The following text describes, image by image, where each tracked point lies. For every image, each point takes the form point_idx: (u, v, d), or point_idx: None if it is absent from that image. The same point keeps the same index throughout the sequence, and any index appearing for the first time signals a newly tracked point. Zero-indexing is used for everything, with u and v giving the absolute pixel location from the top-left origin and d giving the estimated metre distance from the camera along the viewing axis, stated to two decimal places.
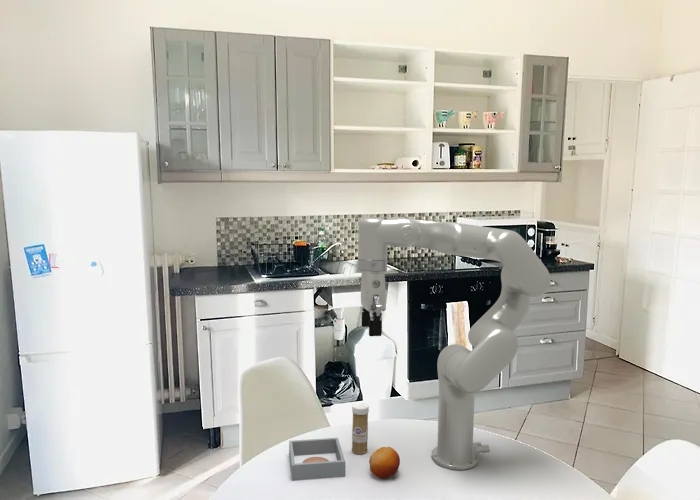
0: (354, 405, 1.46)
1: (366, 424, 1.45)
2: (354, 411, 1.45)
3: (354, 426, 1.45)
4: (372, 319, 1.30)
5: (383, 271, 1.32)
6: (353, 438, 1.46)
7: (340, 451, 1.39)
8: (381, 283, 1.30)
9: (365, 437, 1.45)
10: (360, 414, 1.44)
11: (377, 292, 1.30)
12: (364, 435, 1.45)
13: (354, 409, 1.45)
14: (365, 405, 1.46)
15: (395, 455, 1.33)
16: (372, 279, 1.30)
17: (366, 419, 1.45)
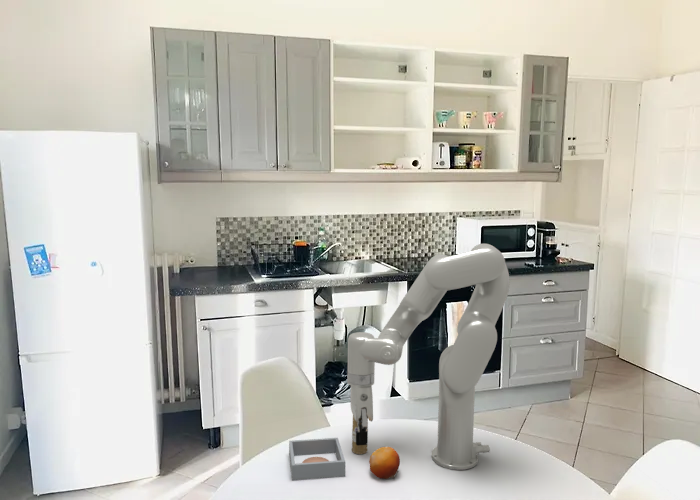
0: None
1: None
2: None
3: (354, 426, 1.45)
4: (358, 431, 1.43)
5: (370, 384, 1.43)
6: (353, 438, 1.46)
7: (340, 451, 1.39)
8: (368, 396, 1.41)
9: None
10: None
11: (365, 405, 1.41)
12: None
13: None
14: None
15: (395, 455, 1.33)
16: (360, 393, 1.41)
17: None
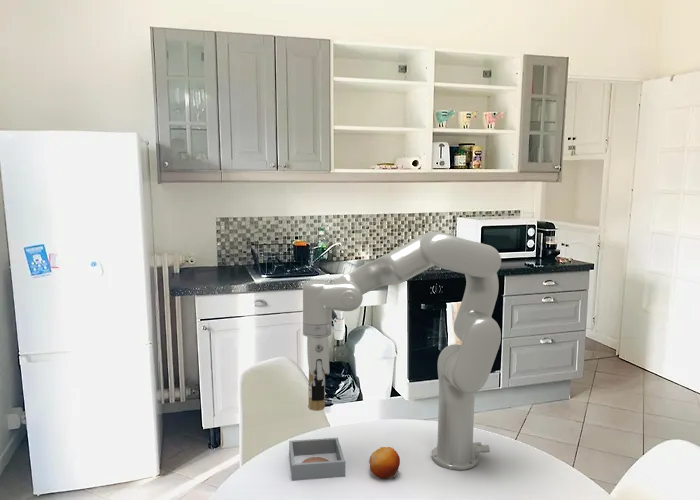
0: None
1: None
2: None
3: (310, 380, 1.36)
4: (314, 385, 1.33)
5: (327, 335, 1.33)
6: (309, 393, 1.36)
7: (340, 451, 1.39)
8: (324, 347, 1.32)
9: None
10: None
11: (320, 356, 1.31)
12: None
13: None
14: None
15: (395, 455, 1.33)
16: (315, 344, 1.31)
17: None
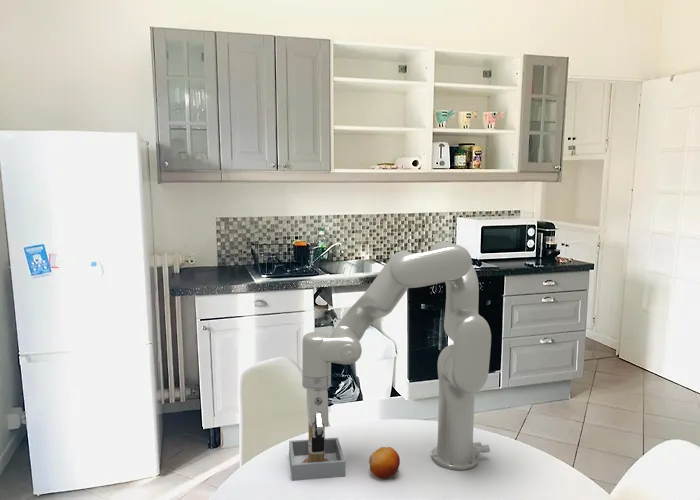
0: None
1: None
2: None
3: (310, 436, 1.38)
4: (314, 436, 1.32)
5: (326, 387, 1.35)
6: (309, 449, 1.38)
7: (340, 451, 1.39)
8: (323, 400, 1.33)
9: None
10: (315, 423, 1.36)
11: (319, 409, 1.33)
12: None
13: None
14: None
15: (395, 455, 1.33)
16: (314, 396, 1.33)
17: None
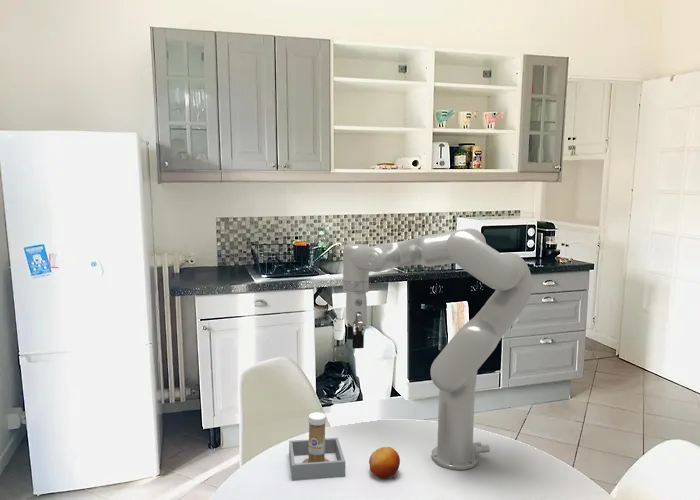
0: (310, 415, 1.38)
1: (323, 435, 1.37)
2: (310, 421, 1.37)
3: (310, 437, 1.37)
4: (355, 333, 1.48)
5: (365, 291, 1.50)
6: (309, 450, 1.38)
7: (340, 451, 1.39)
8: (363, 302, 1.49)
9: (321, 448, 1.37)
10: (316, 424, 1.36)
11: (359, 310, 1.49)
12: (320, 446, 1.37)
13: (310, 419, 1.37)
14: (322, 415, 1.38)
15: (395, 455, 1.33)
16: (355, 298, 1.48)
17: (323, 430, 1.37)
